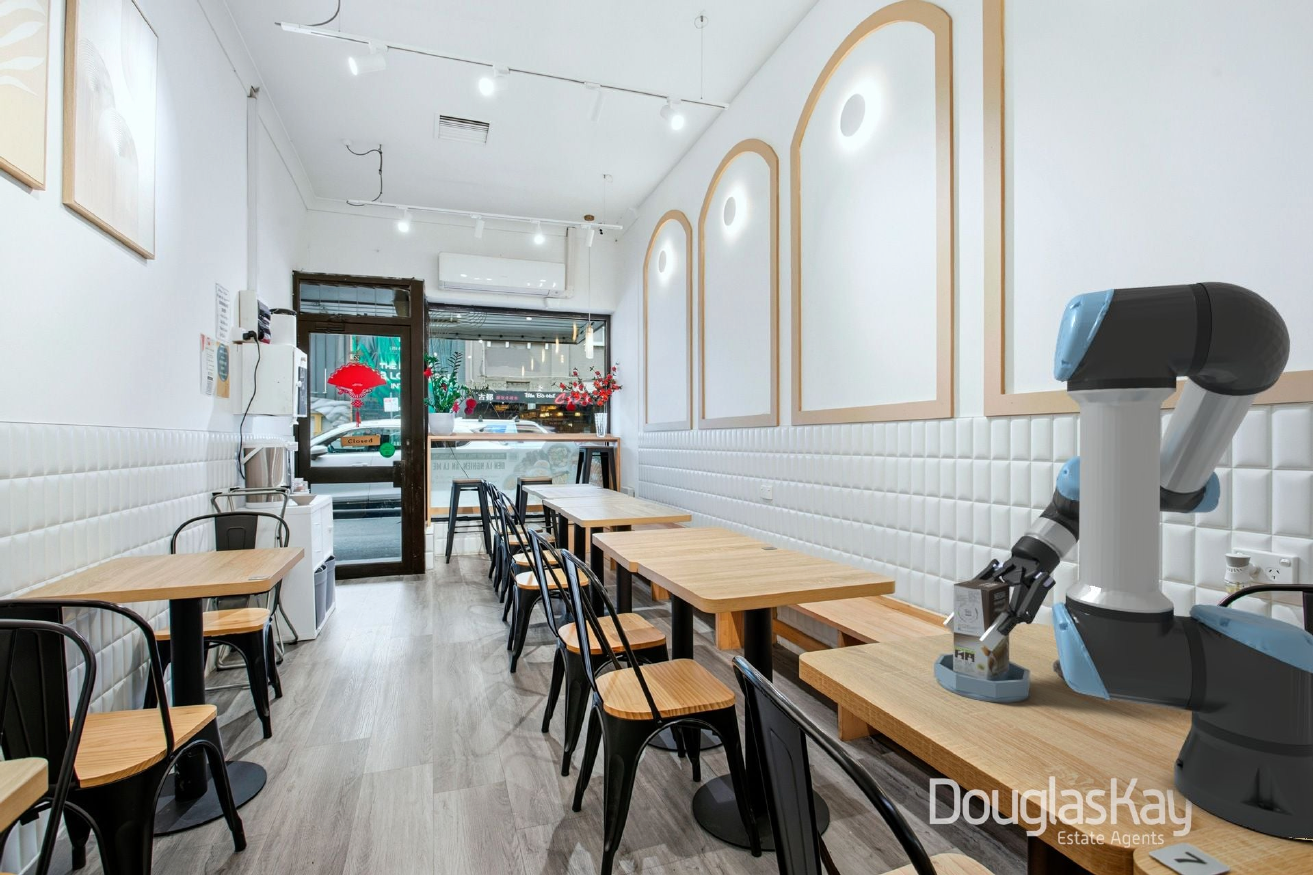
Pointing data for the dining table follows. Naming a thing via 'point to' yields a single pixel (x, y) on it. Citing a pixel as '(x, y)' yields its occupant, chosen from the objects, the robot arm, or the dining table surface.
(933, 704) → the dining table surface
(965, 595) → the coffee box
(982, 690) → the slate bowl
